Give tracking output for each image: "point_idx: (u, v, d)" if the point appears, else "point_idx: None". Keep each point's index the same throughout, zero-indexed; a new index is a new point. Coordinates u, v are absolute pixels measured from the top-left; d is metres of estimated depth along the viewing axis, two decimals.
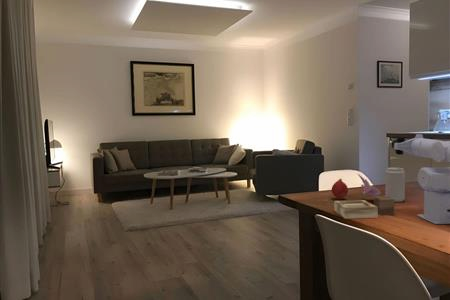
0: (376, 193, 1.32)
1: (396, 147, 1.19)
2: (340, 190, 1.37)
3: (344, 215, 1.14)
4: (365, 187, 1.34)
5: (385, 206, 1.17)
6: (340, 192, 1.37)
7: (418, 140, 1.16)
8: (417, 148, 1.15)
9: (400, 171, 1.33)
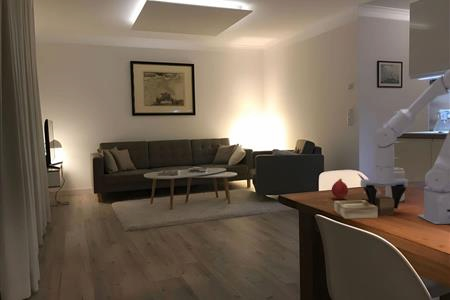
0: (376, 193, 1.32)
1: (362, 181, 1.18)
2: (340, 190, 1.37)
3: (344, 215, 1.14)
4: None
5: (385, 206, 1.17)
6: (340, 192, 1.37)
7: None
8: (375, 168, 1.18)
9: (400, 171, 1.33)
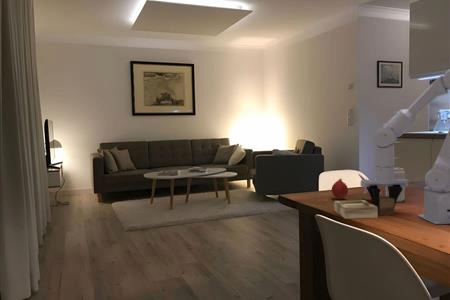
0: None
1: (362, 182, 1.18)
2: (340, 190, 1.37)
3: (344, 215, 1.14)
4: None
5: (385, 205, 1.17)
6: (340, 192, 1.37)
7: None
8: (375, 168, 1.18)
9: (400, 171, 1.33)
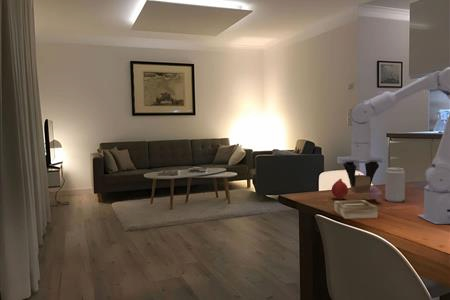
0: (377, 193, 1.32)
1: (338, 158, 1.17)
2: (340, 190, 1.37)
3: (344, 215, 1.14)
4: None
5: (361, 184, 1.16)
6: (340, 192, 1.37)
7: None
8: (352, 145, 1.17)
9: (400, 171, 1.33)
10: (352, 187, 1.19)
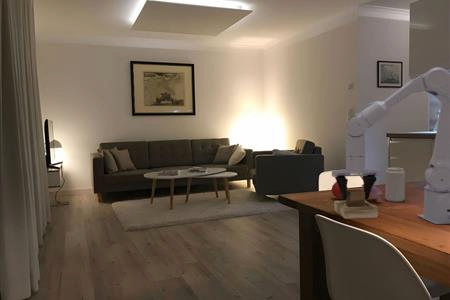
0: (377, 193, 1.32)
1: (333, 172, 1.17)
2: None
3: (344, 215, 1.14)
4: None
5: (356, 198, 1.16)
6: (340, 192, 1.37)
7: None
8: (346, 158, 1.17)
9: (400, 171, 1.33)
10: (347, 202, 1.19)
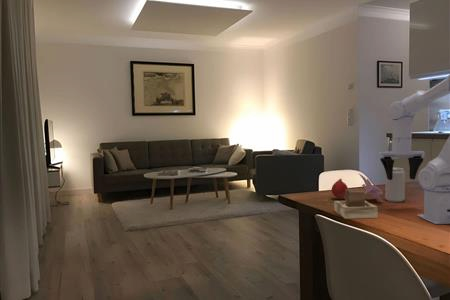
0: (378, 193, 1.33)
1: (380, 153, 1.22)
2: (340, 190, 1.37)
3: (344, 215, 1.14)
4: (367, 187, 1.35)
5: (356, 198, 1.16)
6: (340, 192, 1.37)
7: None
8: (393, 140, 1.22)
9: (400, 171, 1.33)
10: (347, 202, 1.19)
